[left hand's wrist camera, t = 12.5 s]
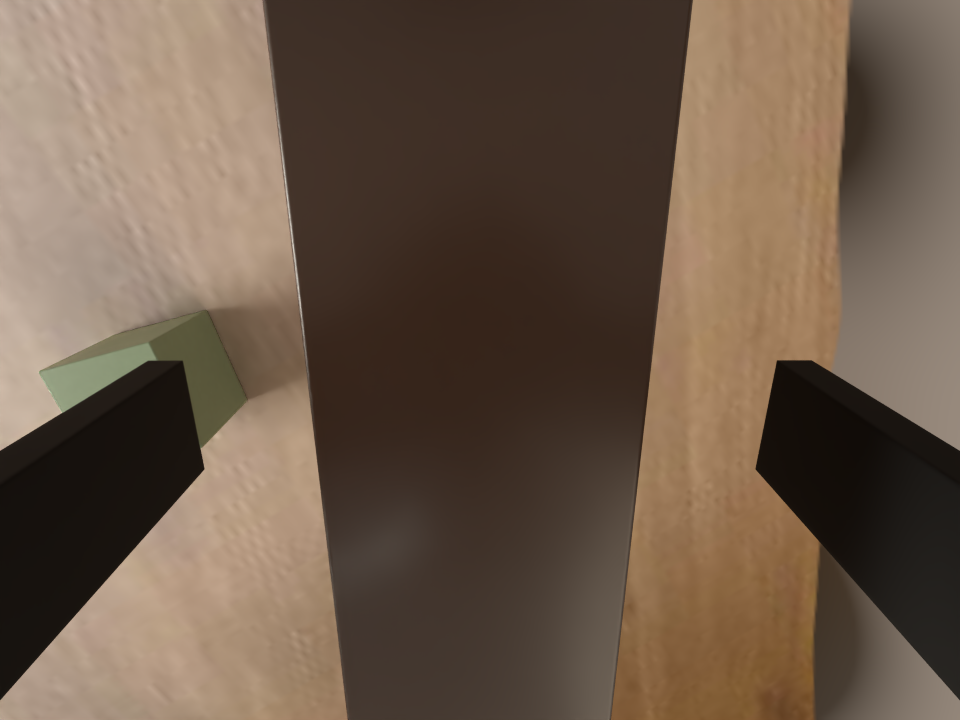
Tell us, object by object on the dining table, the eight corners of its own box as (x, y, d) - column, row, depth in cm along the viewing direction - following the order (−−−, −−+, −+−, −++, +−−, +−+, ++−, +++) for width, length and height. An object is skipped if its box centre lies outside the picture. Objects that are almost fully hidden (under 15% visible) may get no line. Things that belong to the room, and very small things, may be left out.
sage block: (248, 400, 28) (202, 448, 24) (159, 422, 29) (97, 474, 24) (206, 309, 27) (149, 341, 22) (113, 334, 27) (37, 372, 22)
